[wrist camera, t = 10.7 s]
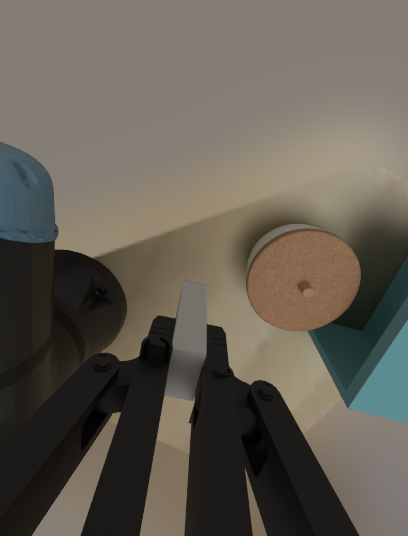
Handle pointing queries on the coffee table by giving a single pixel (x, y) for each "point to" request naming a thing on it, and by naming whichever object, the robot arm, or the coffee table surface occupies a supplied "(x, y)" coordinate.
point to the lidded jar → (301, 277)
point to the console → (372, 355)
